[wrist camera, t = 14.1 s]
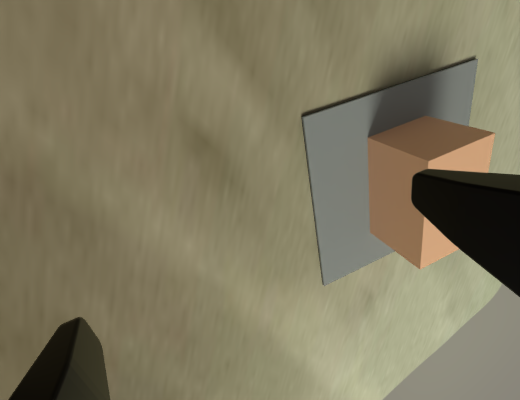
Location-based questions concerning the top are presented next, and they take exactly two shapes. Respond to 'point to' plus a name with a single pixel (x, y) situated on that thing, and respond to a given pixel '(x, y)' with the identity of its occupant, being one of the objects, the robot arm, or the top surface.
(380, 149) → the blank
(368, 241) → the grey mat
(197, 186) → the top surface
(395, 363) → the top surface
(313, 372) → the top surface
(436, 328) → the top surface
